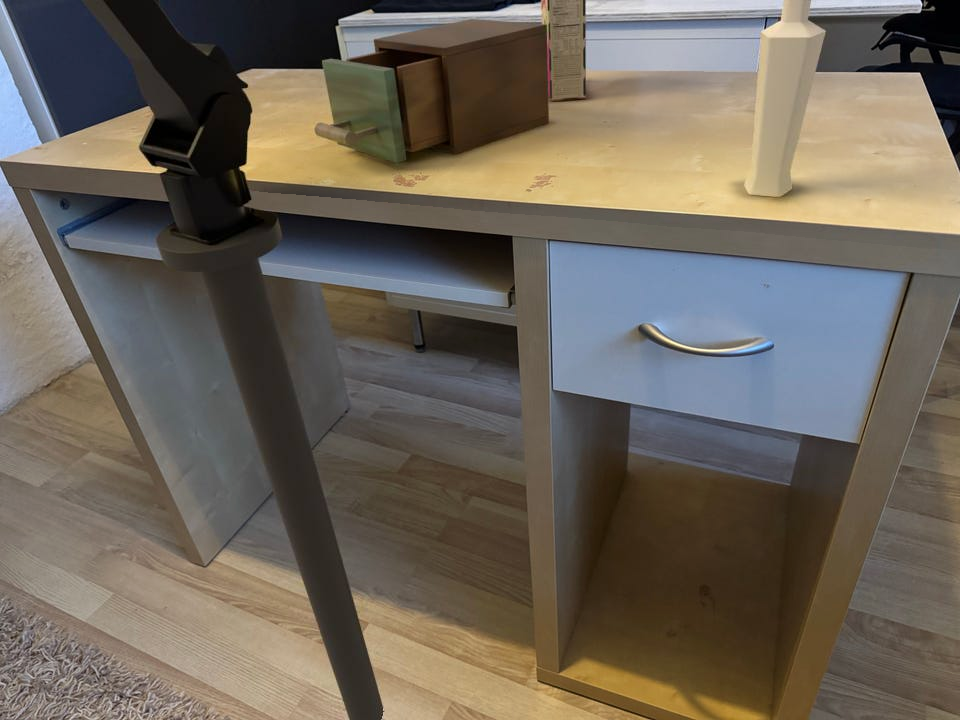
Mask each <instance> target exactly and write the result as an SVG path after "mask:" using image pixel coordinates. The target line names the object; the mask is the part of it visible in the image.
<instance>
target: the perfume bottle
mask: <svg viewBox="0 0 960 720" xmlns="http://www.w3.org/2000/svg"><path fill="white" fill-rule="evenodd" d="M811 3H812V0H783V4H782V10H781V17H780V20H779V21H777V22H775V23H774V24H771V25H770V26H768V27H766V28H764V29H763V30H761V31H760V39H759V53H758V68H757V81H756V95H755V96H756V97H755V109H754V119H753V120H754V122H753V125H754V126H753V133H752V134H753V137H752V149H751V161H750V162H751V163H750V170H749V172H748V174H747V177H746V179H745V182H744V183H743V186H744V189H745V190H746V192H747V194H748V195H750V196H761V197H762V196H763V197H774V198H775V197H776V198H780V197H781V198H782V196H784V195H786V194H787V193H788V192H790V191H791V190H792V189H793V184H792V174H791V169H792V166H793V161H794V159H795V154H796V150H797V146H798V142H799V139H800V134H801V131H802V127H803V122H804V118H805V115H806V111H807V107H808V103H809V99H810V95H811V91H812V88H813V82H814V80H815V75H816V72H817V67H818V64H819V61H820V55H821V52H822V48H823V43H824V39H825V37H826V33H827V32H826V30H825V29H824V28H822V27H820V26H818V25H817V24H815V23H814V22H812V21H810V20H809V16H810V15H809V14H810V11H811V10H810V9H811Z"/></svg>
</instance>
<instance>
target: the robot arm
mask: <svg viewBox="0 0 960 720" xmlns="http://www.w3.org/2000/svg"><path fill="white" fill-rule="evenodd" d="M81 2H82V3H83V4H84V5H85V7H86V8H87V9H88V11H90V13H91V14H92V16H94V18H95V19H96V20H97V21H98V23H99V24H100V25H101V27H103V29H104V30H105V32H107V34H108V35H109V36H110V37H111V39H112V40H113V41H114V42H115V44H116V45H117V46H118V48H119V49H120V50H121V51H122V52H123V53H124V55H125V56H126V57H127V59H128V60H129V62H130V64H131V66H132V69H133V71H134V74H135V79H136V81H137V84H138V87H139V90H140V93H141V96H142V97H143V99H144V100H145V102H146V104H147V106H148V107H149V109H150V110H151V113H152V114H153V115H152V118H151V120H150V122H149V124H148V126H147V128H146V130H145V132H144V134H143V136H142V138H141V141H140V142H139V145H138V150H139V151H140V153H141V154H142V155H143V156H144V157H145V159H146V160H147V162H148V163H149V164H150V166H152V167H155V168H158V167H159V168H162V169H166V170H164V171H163V172H160V173H159V176H160V180H161V183H162V186H163V189H164V192H165V194H166V197H167V200H168V204H169V206H170V209H171V212H172V216H173V218H174V222H176V224H177V227H174V228H172V229H170V230H169V231H170V234H171V235H172V236H176V237H179V238H183V239H187V240H190V241H194V242H197V243H201V244H205V245H209V246H212V245H215V244H218V243H220V242H222V241H224V240H226V239H228V238H230V237H233V236H235V235H237V234H239V233H241V232H243V231H245V230H248V229H250V228H252V227H254V226H256V225H258V224H260V223H263V222H264V218H263V216H260V215H256V214H252V213H253V212H254V209H255V208H253V207H249V206H246V204H249V203H250V201H252V199H253V198H252V194H251V192H250V187H249V185H248V184H249V183H248V181H247V177H246V173H245V171H243V170H242V169H241V167H243V166H246V165H247V162H248V143H249V142H248V139H249V138H248V137H249V129H250V126H251V122H252V119H251V118H252V114H253V106H252V103H251V101H250V98H249V97H248V95H247V93H246V92H245V89H248V88H249V84H248V82H245V81H244V80H243V79H241V78H240V77H239V76H238V74H237V73H236V72H235V70H234V69H233V66H232V65H231V63H230V61H229V59H228V57H227V55H226V53H225V52H224V50H222V48H221V47H220V46H219V45H217V44H205V43H192V42H190V41H188V40H187V39H186V38H185V37H184V36H183V35H182V34H181V33H180V31H179V30H178V29H177V28H176V26H175V25H174V23H173V22H172V20H171V19H170V18H169V16H168V15H167V13H166V12H165V11H164V9H163V8H162V6H161V5H160V4H159V2H158V1H157V0H81Z"/></svg>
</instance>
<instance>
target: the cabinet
mask: <svg viewBox="0 0 960 720" xmlns="http://www.w3.org/2000/svg"><path fill="white" fill-rule="evenodd" d="M373 45H374V53H375V52H380V51H384V50H389V49H394V50H402V51H410V52H417V53H425V54H433V55H440V56H442V66H443V76H444V86H445V96H446V107H447V117H448V127H449V137H450V140H449V141H445V142H442V143H439V144H436V145H433V146H430V147H429V148H431V149H435V150H438V151H442V152H444V153H445V152H446V153H449V154H454V155H457V154H461V153H465V152H467V151H469V150H472V149H475V148H478V147H481V146H484V145H487V144H490V143H493V142H496V141H499V140H501V139H504V138H507V137H511V136H513V135H514V136H515V135H516V134H519V133H522V132H525V131H529V130H531V129H534V128H537V127H540V126H543V125H546V124H548V123H549V122H550V121H549V120H550V117H549V116H550V114H549V94H548V55H547V25H546V24H542V23H532V22H519V21H518V22H517V21H503V20H493V19H492V20H491V19H476V18H469V19H465V20H460V21H455V22H451V23H446V24H442V25H436V26H431V27H426V28H422V29H416V30H413V31H408V32H403V33H398V34H392V35H388V36H383V37H382V36H381V37H379V38H374V39H373Z"/></svg>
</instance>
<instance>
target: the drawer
mask: <svg viewBox="0 0 960 720" xmlns="http://www.w3.org/2000/svg"><path fill="white" fill-rule="evenodd" d="M321 64H322V69H323V74H324V79H325V85H326V90H327V96H328V101H329V106H330V111H331V117H332V123H330V124H327V123H324V122H318V123H316V124H315V126H314V134H315V135H316V136H318V137H320V138H322V139H323V138H324V139H326V140H330V141H332V142H336V143H337V145H338V146H342V147H345V148H349V149H351V150H354V151H358V152H361V153H364V154H367V155H370V156H374V157H376V158H380V159H384V160H387V161H390V162H393V163H397V164H398V163H401V162H405V161H407V153H406V152H410V153H414V152H418V151H421V150H424V149H427V148H431V147H430V146H433V145H436V144H439V143H442V142H445V141H449V140H450V137H449V127H448V117H447V107H446V96H445V86H444V76H443V66H442V56H440V55H433V54H425V53H417V52H410V51H402V50H394V49H389V50H384V51H380V52H375V51H374V52H372V53H366V54H362V55H357V56H353V57H349V58H346V59H345V60H343V59H337V58H336V59H334V58H328V59H323V60H321Z"/></svg>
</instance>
